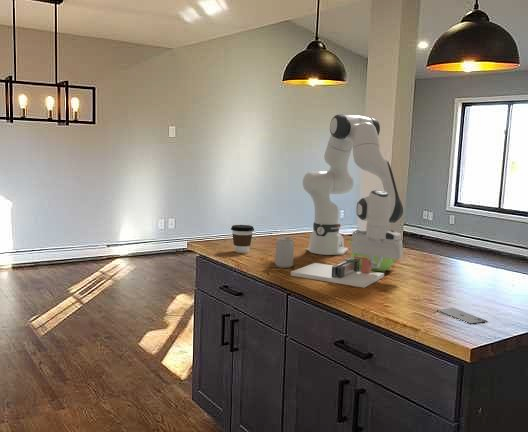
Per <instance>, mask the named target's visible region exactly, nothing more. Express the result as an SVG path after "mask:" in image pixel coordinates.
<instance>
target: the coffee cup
mask: <svg viewBox="0 0 528 432" xmlns="http://www.w3.org/2000/svg"><path fill="white" fill-rule="evenodd" d="M231 230H232V243H233V246H234V251H235V252H236V253H239V254H247V253H249V251H250V248H251V247H250V246H251V243H252V237H253V231H255V228H254V225H249V224H234V225H233V224H232V225H231V228H230V231H231Z"/></svg>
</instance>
